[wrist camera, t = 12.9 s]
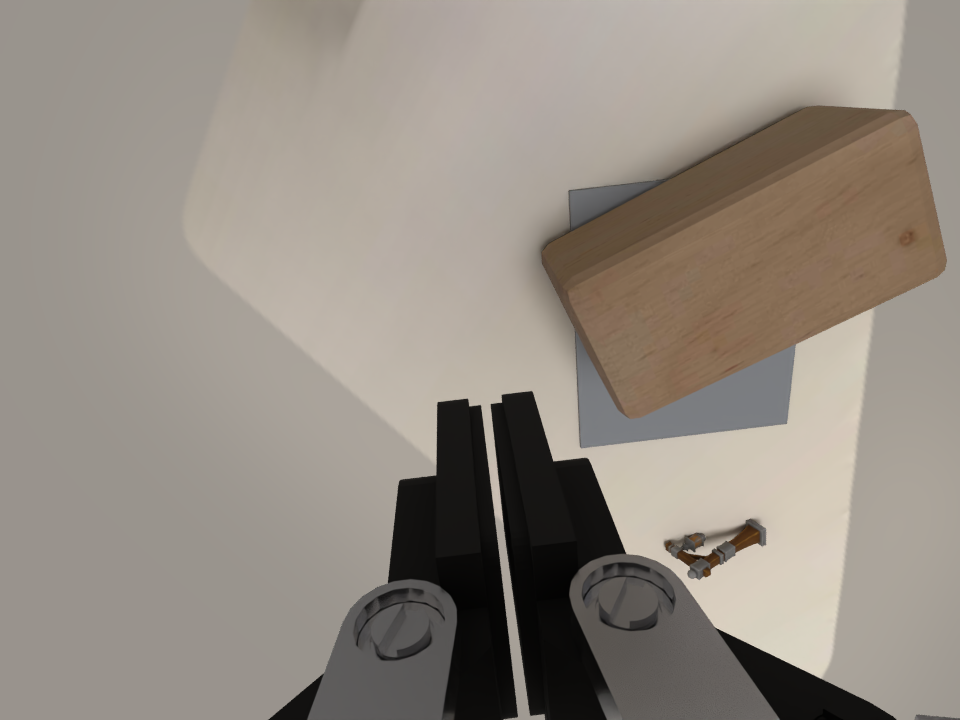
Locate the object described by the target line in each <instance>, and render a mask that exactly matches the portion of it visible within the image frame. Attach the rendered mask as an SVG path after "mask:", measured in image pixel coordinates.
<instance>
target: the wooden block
mask: <svg viewBox="0 0 960 720" xmlns="http://www.w3.org/2000/svg"><path fill="white" fill-rule="evenodd" d="M946 262H947V259H946V254H945V249H944V245H943V241H942V236H941V231H940V226H939V222H938V217H937V212H936V208H935V204H934V199H933V194H932V189H931V185H930V180H929V176H928V171H927V166H926V162H925V157H924V153H923V148H922V143H921V139H920V134H919V129H918V125H917V123H916V122H915V120H914V119H913V117H912V116H911V114H909V113H908V112H906V111H905V110H887V109H869V108H851V107H833V106H811V107H806V108H804V109H802V110H800V111H798V112H796V113H795V114H793V115H791V116H789V117H787V118H785V119H783V120H781V121H779V122H778V123H776V124H774V125H772V126H770V127H768V128H766V129H764V130H762V131H761V132H759V133H757V134H755V135H753V136H751V137H749V138H747V139H745V140H744V141H742V142H740V143H738V144H736V145H734V146H732V147H730V148H728V149H727V150H725V151H723V152H721V153H719V154H717V155H715V156H713V157H711V158H710V159H708V160H706V161H704V162H702V163H700V164H698V165H696V166H694V167H693V168H691V169H689V170H687V171H685V172H683V173H681V174H679V175H677V176H676V177H674V178H672V179H670V180H668V181H666V182H664V183H662V184H660V185H659V186H657V187H655V188H653V189H651V190H649V191H647V192H645V193H643V194H642V195H640V196H638V197H636V198H634V199H632V200H630V201H628V202H626V203H625V204H623V205H621V206H619V207H617V208H615V209H613V210H611V211H609V212H608V213H606V214H604V215H602V216H600V217H598V218H596V219H594V220H592V221H591V222H589V223H587V224H585V225H583V226H581V227H579V228H577V229H575V230H574V231H572V232H570V233H568V234H566V235H564V236H562V237H560V238H558V239H557V240H555V241H553V242H551V243H549V244H548V245H547V246H546V248H545V249H544V250H543V251H542V264H543V266H544V268H545V270H546V272H547V274H548V276H549V278H550V280H551V282H552V284H553V286H554V288H555V290H556V292H557V294H558V296H559V298H560V300H561V302H562V304H563V306H564V308H565V310H566V312H567V314H568V316H569V318H570V320H571V322H572V324H573V326H574V328H575V330H576V332H577V334H578V336H579V338H580V340H581V342H582V344H583V346H584V348H585V350H586V352H587V354H588V356H589V358H590V360H591V361H592V363H593V365H594V367H595V369H596V371H597V372H598V374H599V376H600V378H601V380H602V382H603V384H604V385H605V387H606V389H607V391H608V393H609V395H610V396H611V398H612V400H613V402H614V404H615V406H616V408H617V409H618V411H620V412H621V413H622V414H623V415H625V416H626V417H628V418H629V419H635V418H641V417H643V416H645V415H647V414H650V413H652V412H654V411H656V410H658V409H660V408H662V407H664V406H666V405H668V404H671V403H673V402H675V401H677V400H679V399H681V398H683V397H685V396H687V395H690V394H692V393H694V392H696V391H698V390H700V389H702V388H704V387H706V386H709V385H711V384H713V383H715V382H717V381H719V380H721V379H723V378H725V377H728V376H730V375H732V374H734V373H736V372H738V371H740V370H742V369H744V368H747V367H749V366H751V365H753V364H755V363H757V362H759V361H761V360H763V359H765V358H768V357H770V356H772V355H774V354H776V353H778V352H780V351H782V350H784V349H787V348H789V347H791V346H793V345H795V344H797V343H799V342H801V341H803V340H806V339H808V338H810V337H812V336H814V335H816V334H818V333H820V332H822V331H825V330H827V329H829V328H831V327H833V326H835V325H837V324H839V323H841V322H844V321H846V320H848V319H850V318H852V317H854V316H856V315H858V314H860V313H862V312H865V311H867V310H869V309H871V308H873V307H875V306H877V305H879V304H881V303H884V302H885V301H888V300H890V299H892V298H894V297H896V296H898V295H900V294H903V293H905V292H907V291H909V290H911V289H913V288H915V287H917V286H919V285H922V284H924V283H925V282H928V281H930V280H932V279H934V278H936V277H938V276H939V275H940V274H941V273H942V272H943V271H944V270H945V267H946Z"/></svg>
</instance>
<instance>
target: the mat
mask: <svg viewBox="0 0 960 720" xmlns="http://www.w3.org/2000/svg"><path fill="white" fill-rule="evenodd" d="M668 180H670V179H666V180H657V181H649V182H640V183H631V184H623V185H614V186H605V187H596V188H588V189H579V190H570V191H569V205H570V227H571V232H572V231H574V230H575V229H577V228H579V227H581V226H583V225H585V224H587V223H589V222H591V221H592V220H594V219H596V218H598V217H600V216H602V215H604V214H606V213H608V212H609V211H611V210H613V209H615V208H617V207H619V206H621V205H623V204H625V203H626V202H628V201H630V200H632V199H634V198H636V197H638V196H640V195H642V194H643V193H645V192H647V191H649V190H651V189H653V188H655V187H657V186H659V185H660V184H662V183H664V182H666V181H668ZM575 340H576V362H577V385H578V407H579V430H580V447H581V448H587V447H596V446H604V445H613V444H621V443H629V442H638V441H646V440H655V439H663V438H672V437H680V436H688V435H697V434H705V433H714V432H722V431H730V430H739V429H747V428H756V427H764V426H773V425H781V424H787V418H788V409H789V400H790V391H791V382H792V373H793V364H794V355H795V346H796V344H795V345H793V346H791V347H789V348H787V349H784V350H782V351H780V352H778V353H776V354H774V355H772V356H770V357H768V358H765V359H763V360H761V361H759V362H757V363H755V364H753V365H751V366H749V367H747V368H744V369H742V370H740V371H738V372H736V373H734V374H732V375H730V376H728V377H725V378H723V379H721V380H719V381H717V382H715V383H713V384H711V385H709V386H706V387H704V388H702V389H700V390H698V391H696V392H694V393H692V394H690V395H687V396H685V397H683V398H681V399H679V400H677V401H675V402H673V403H671V404H668V405H666V406H664V407H662V408H660V409H658V410H656V411H654V412H652V413H650V414H647V415H645V416H643V417H641V418H635V419H629V418H628V417H626V416H625V415H623V414H622V413H621V412H620V411H618V409H617V408H616V406H615V404H614V402H613V400H612V398H611V396H610V395H609V393H608V391H607V389H606V387H605V385H604V384H603V382H602V380H601V378H600V376H599V374H598V372H597V371H596V369H595V367H594V365H593V363H592V361H591V360H590V358H589V356H588V354H587V352H586V350H585V348H584V346H583V344H582V342H581V340H580V338H579V336H578V334H577V332H576V330H575Z"/></svg>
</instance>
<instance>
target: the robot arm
mask: <svg viewBox="0 0 960 720" xmlns="http://www.w3.org/2000/svg"><path fill="white" fill-rule="evenodd" d="M491 412H492V422H493V431H494V440H495V449H496V458H497V468H498V477H499V486H500V495H501V504H502V514H503V523H504V532H505V540H506V547H507V554H508V562H509V569H510V576H511V583H512V590H513V597H514V605H515V612H516V619H517V626H518V633H519V640H520V647H521V655H522V662H523V668H524V676H525V683H526V690H527V697H528V705H529V711H530V715H531V716H532V715H541V714H545V720H896V719H895V718H894V717H893V716H891V715H890V714H888V713H886V712H885V711H883V710H881V709H880V708H878V707H876V706H874V705H873V704H872V703H870V702H868V701H866V700H864V699H862V698H859V697H857V696H855V695H853V694H851V693H849V692H847V691H845V690H843V689H841V688H839V687H837V686H835V685H833V684H831V683H829V682H826V681H824V680H822V679H820V678H818V677H816V676H814V675H812V674H810V673H808V672H806V671H804V670H802V669H800V668H797V667H795V666H793V665H791V664H789V663H787V662H785V661H783V660H781V659H779V658H777V657H775V656H773V655H771V654H769V653H766V652H764V651H762V650H760V649H758V648H756V647H754V646H752V645H750V644H748V643H746V642H744V641H742V640H740V639H737V638H735V637H733V636H731V635H729V634H727V633H725V632H723V631H721V630H719V629H717V628H715V627H714V626H713V624H712V623H711V621H710V620H709V619H708V617H707V616H706V614H705V613H704V612H703V610H702V609H701V607H700V606H699V604H698V603H697V602H696V600H695V599H694V597H693V596H692V595H691V593H690V592H689V590H688V589H687V588H686V586H685V585H684V583H683V582H682V581H681V580H680V579H679V578H678V576H677V575H676V574H675V573H674V572H673V571H672V570H671V569H669V568H667V567H666V566H664V565H662V564H661V563H659V562H657V561H655V560H652V559H649V558H646V557H642V556H639V555H629V554H626V552H625V550H624V547H623V544H622V542H621V539H620V537H619V534H618V532H617V529H616V527H615V524H614V522H613V519H612V516H611V514H610V511H609V509H608V506H607V504H606V501H605V499H604V496H603V494H602V491H601V488H600V486H599V483H598V481H597V478H596V476H595V473H594V471H593V468H592V466H591V463H590V461H589V459H588V458H580V459H571V460H563V461H554V462H553V459H552V455H551V452H550V449H549V445H548V442H547V438H546V435H545V432H544V428H543V425H542V422H541V418H540V415H539V411H538V408H537V405H536V401H535V398H534V395H533V392H532V391H529V392H520V393H512V394H503V395H502V403H496V404H491ZM515 717H518V714H517V705H516V696H515V688H514V679H513V671H512V662H511V653H510V644H509V635H508V626H507V618H506V609H505V600H504V592H503V583H502V574H501V566H500V557H499V549H498V540H497V532H496V525H495V516H494V508H493V500H492V491H491V483H490V475H489V467H488V459H487V451H486V442H485V434H484V426H483V418H482V410H481V405H479V406H470V407H469V402H468V399H461V400H453V401H444V402H438V404H437V475H436V476H428V477H420V478H411V479H403V480H400V481H399V485H398V494H397V503H396V512H395V522H394V531H393V540H392V549H391V559H390V568H389V577H388V584H385V585H382V586H379V587H377V588H375V589H374V590H372V591H370V592H369V593H367V594H366V595H364V596H362V598H360V599H359V600H358V601H357V602H356V604H354V605H353V607H352V608H351V609H350V610H349V612H348V614H347V616H346V618H345V620H344V621H343V623H342V626H341V629H340V631H339V634H338V637H337V640H336V642H335V645H334V648H333V651H332V653H331V656H330V659H329V661H328V664H327V667H326V670H325V672H324V674H323V675H321V676H320V677H319V678H318V679H316V680H315V681H314V682H313V683H312V684H310V685H309V686H308V687H307V688H306V689H304V690H303V691H302V692H301V693H300V694H299V695H297V696H296V697H295V698H294V699H293V700H291V701H290V702H289V703H288V704H287V705H285V706H284V707H283V708H282V709H281V710H279V711H278V712H277V713H276V714H275V715H274V716H273V717H271V718H270V719H269V720H503V719H508V718H515ZM915 720H960V718H948V717H938V716H927V715H916V717H915Z"/></svg>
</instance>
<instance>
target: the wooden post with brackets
mask: <svg viewBox="0 0 960 720" xmlns="http://www.w3.org/2000/svg"><path fill="white" fill-rule="evenodd" d="M705 538H706V537H705V535H704V534H698V533H695V534H693V535H692V536H691V537H689V538H688V537H687V536H685V542H686V543H685V544H684V543H683V546H681V547H679V546H677V545H676V546H675V545H674V544H672V543H671V542H668V543H667V544H665V546H666V550H667V551H668V552H669V553H671V555H672V556H674V557H675V558H676V559H680V560H681V561H683V562H684V563H685V564H687V565H688V566H690V570H689V571H688V577H689V578H691V579H694V578H697V579H698V580H700V579H701V578H702V577H703V576H705V577H708V576H710V575H711V569H712V568H713V567H715V566H716V565H718V564H720V565H722V564H724V561H725V562H727V560H728V559H730V558H731V557H733V556H735V553H736V552H738V551H740V550H742V549H744V548H746V547H748V546H751V545H753V544H756V543H758V544H759V545H761V546H762V547H763V546H764V545H766V528H764V527H763V526H761V525H759V524H758V523H756V522H754V521H753V520H751V519H749V520H746V528H745V529H744V530H743V531H742V532H741V533H739V534H738V535H737V536H736V537H735V538H734V539H732V540H731V541H729V542H727V541H725V543H723V544H722V545H720V546H717V550H716V549H715V548H714V549H713V550H712V553H711V554H709V555H708V556H701V555H694V554H688V553H686V552H684V551H683V550H687V551H688V549H691V550H692V551H693V552H695V549H696V548H698V547H700V546H704V542H703V541H704V540H705ZM683 548H684V549H683ZM697 560H698V561H697Z"/></svg>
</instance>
